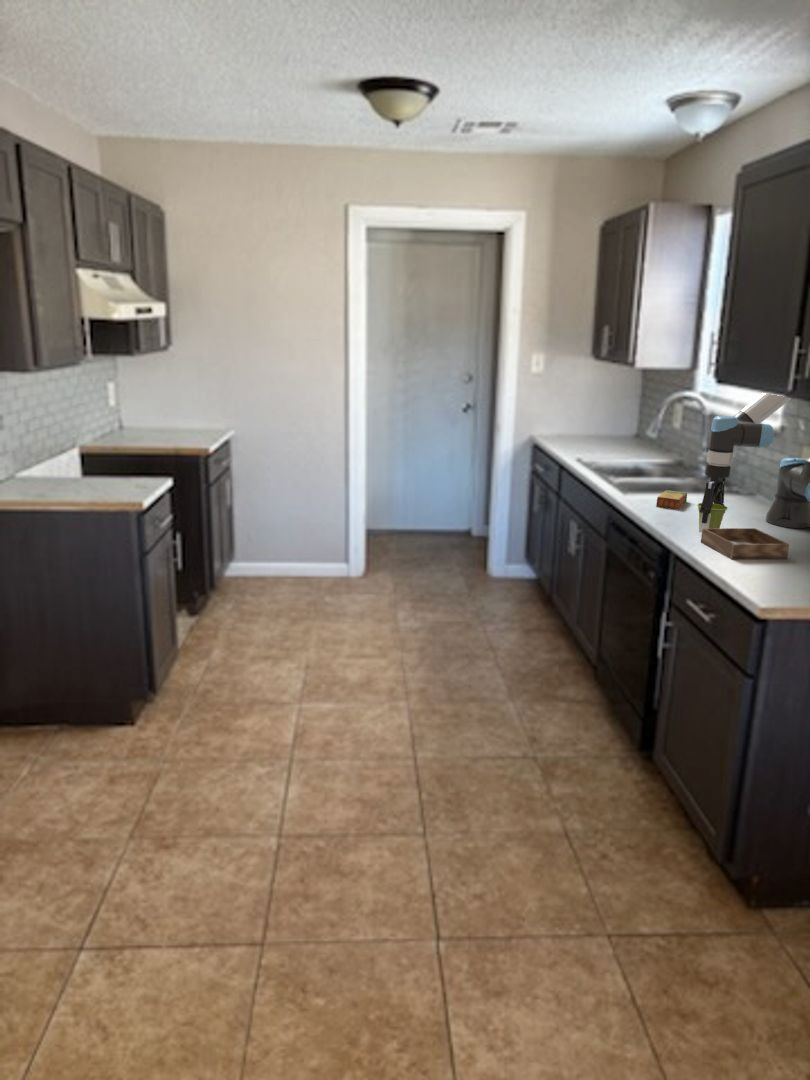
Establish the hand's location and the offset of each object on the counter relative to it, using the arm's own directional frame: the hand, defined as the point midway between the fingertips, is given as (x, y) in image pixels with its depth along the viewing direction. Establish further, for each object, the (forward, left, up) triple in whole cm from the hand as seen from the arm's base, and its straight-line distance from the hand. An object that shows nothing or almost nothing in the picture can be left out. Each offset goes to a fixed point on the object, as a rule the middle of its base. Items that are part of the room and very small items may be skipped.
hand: (708, 529), depth 273 cm
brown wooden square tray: (+1, +22, -1) cm, 22 cm away
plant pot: (0, 0, -1) cm, 1 cm away
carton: (-6, -38, -1) cm, 38 cm away
